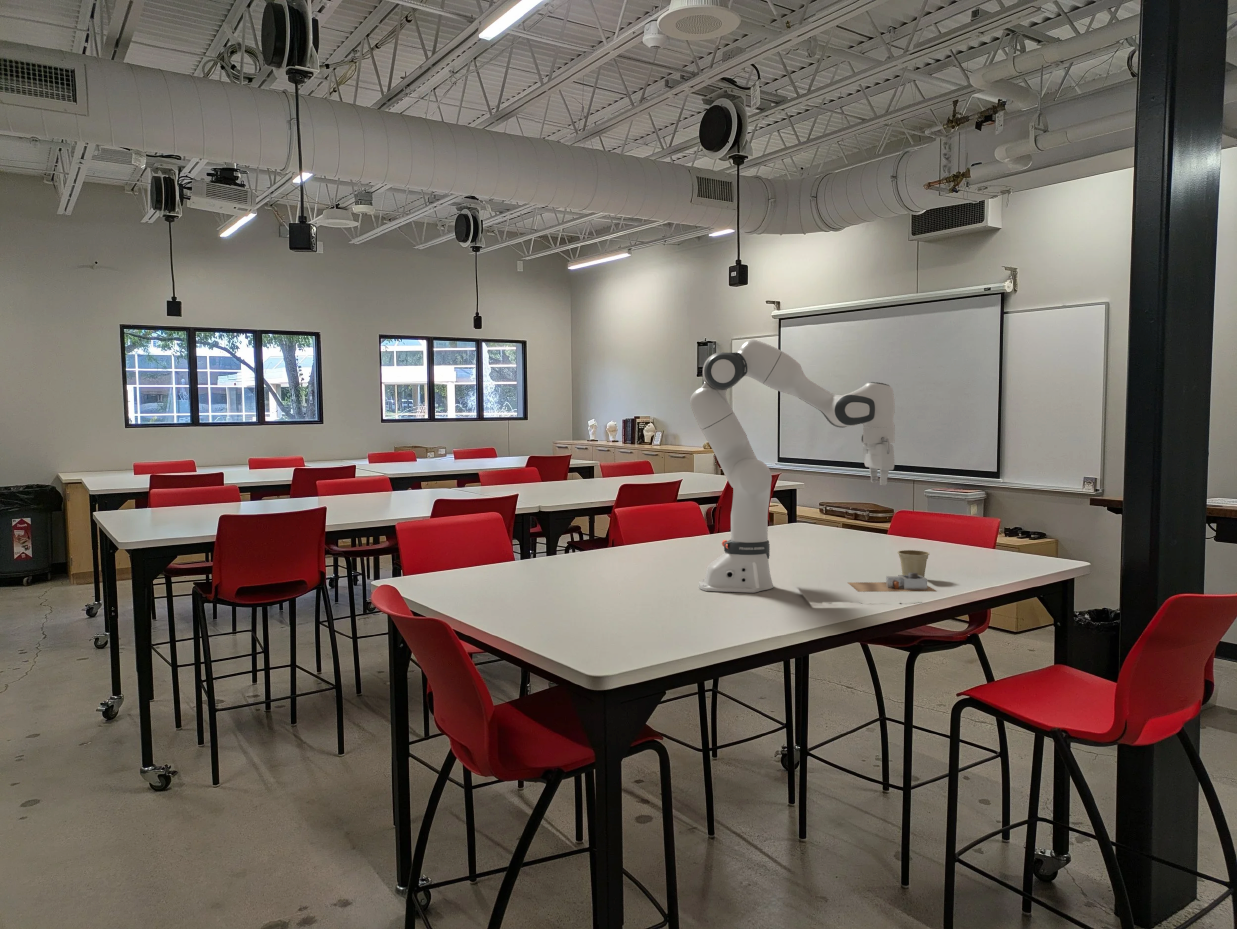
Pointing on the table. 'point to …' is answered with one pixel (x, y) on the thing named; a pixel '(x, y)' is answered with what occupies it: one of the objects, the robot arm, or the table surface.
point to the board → (883, 586)
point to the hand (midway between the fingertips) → (878, 483)
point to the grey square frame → (907, 582)
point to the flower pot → (913, 561)
